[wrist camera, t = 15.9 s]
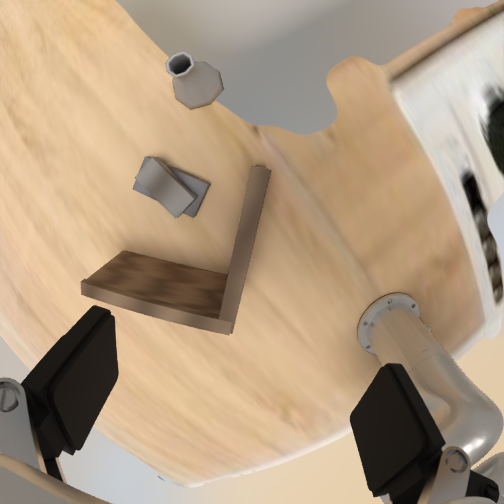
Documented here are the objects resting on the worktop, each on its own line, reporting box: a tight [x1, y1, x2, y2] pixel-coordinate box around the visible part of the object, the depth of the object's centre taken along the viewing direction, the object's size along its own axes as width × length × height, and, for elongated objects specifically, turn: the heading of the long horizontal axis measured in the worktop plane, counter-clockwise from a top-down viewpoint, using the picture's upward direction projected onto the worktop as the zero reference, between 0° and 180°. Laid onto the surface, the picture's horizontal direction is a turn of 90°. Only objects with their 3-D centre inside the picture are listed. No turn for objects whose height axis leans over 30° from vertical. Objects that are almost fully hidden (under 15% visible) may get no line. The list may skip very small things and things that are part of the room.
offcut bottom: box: [133, 157, 210, 218], centre depth 38 cm, size 10×5×2 cm, turn 64°
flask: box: [166, 51, 224, 110], centre depth 29 cm, size 7×7×10 cm
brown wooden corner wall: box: [81, 165, 271, 335], centre depth 33 cm, size 19×18×13 cm
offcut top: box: [135, 157, 198, 218], centre depth 35 cm, size 8×4×2 cm, turn 44°
